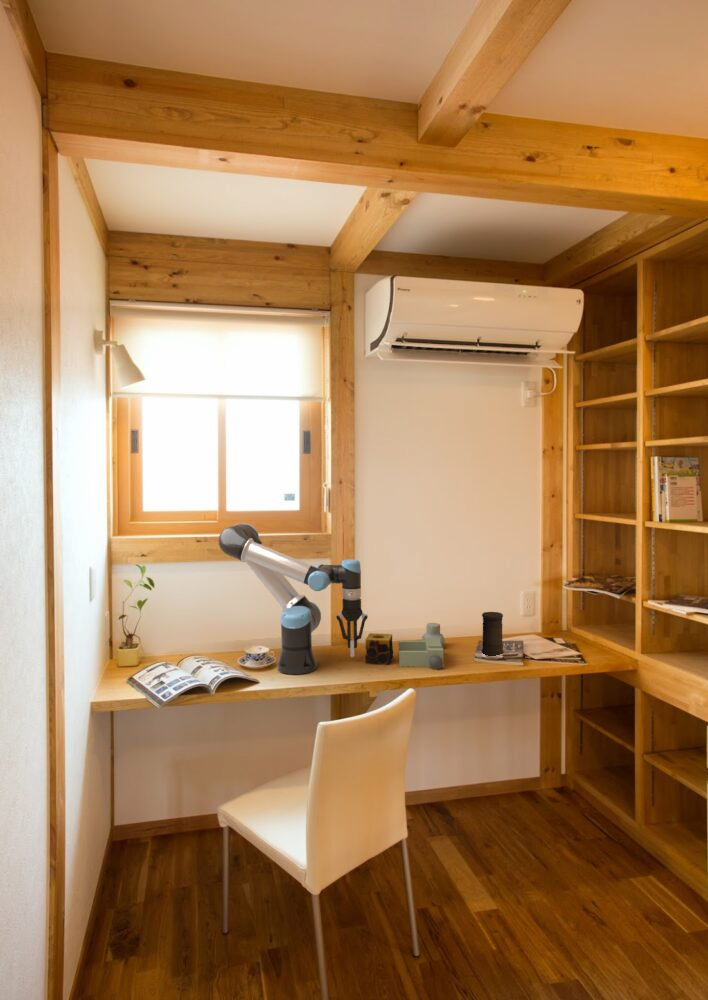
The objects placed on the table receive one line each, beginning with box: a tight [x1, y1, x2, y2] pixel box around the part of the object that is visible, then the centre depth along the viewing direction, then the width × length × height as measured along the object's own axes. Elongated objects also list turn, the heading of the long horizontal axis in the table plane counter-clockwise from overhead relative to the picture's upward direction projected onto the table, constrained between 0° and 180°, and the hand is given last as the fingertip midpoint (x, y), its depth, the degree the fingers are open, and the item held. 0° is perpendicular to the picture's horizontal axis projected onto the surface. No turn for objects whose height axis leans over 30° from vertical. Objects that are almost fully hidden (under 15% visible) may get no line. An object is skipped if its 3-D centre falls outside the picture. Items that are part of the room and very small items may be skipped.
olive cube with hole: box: [364, 632, 394, 666], centre depth 262 cm, size 10×10×10 cm
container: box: [481, 611, 505, 656], centre depth 265 cm, size 9×9×18 cm
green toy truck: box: [398, 638, 444, 670], centre depth 261 cm, size 17×22×8 cm
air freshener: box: [421, 622, 446, 647], centre depth 281 cm, size 11×8×10 cm
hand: (352, 655), depth 263 cm, fingers closed
